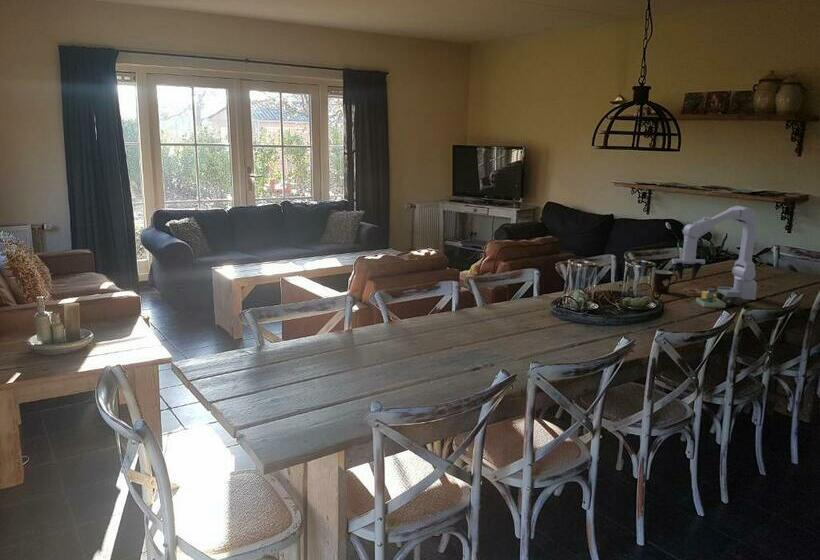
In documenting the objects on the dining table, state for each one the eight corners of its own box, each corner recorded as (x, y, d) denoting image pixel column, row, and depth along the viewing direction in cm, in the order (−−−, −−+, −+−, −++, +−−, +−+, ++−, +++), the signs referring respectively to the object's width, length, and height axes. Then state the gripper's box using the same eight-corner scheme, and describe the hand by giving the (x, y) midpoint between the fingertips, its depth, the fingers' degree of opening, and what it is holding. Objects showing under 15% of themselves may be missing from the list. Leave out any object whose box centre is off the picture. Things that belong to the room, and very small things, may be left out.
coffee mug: (652, 293, 321) (654, 273, 319) (651, 289, 329) (653, 269, 327) (677, 295, 318) (679, 274, 316) (676, 291, 326) (678, 271, 324)
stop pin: (711, 302, 302) (713, 287, 300) (714, 304, 299) (715, 289, 297) (704, 302, 302) (706, 287, 301) (707, 304, 299) (709, 289, 298)
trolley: (731, 299, 310) (733, 286, 309) (743, 306, 299) (745, 292, 297) (712, 299, 311) (714, 286, 309) (723, 305, 299) (725, 292, 298)
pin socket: (697, 293, 322) (697, 289, 322) (702, 296, 315) (703, 292, 315) (682, 292, 322) (683, 288, 322) (687, 296, 316) (688, 292, 315)
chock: (711, 299, 311) (712, 291, 310) (716, 302, 306) (717, 293, 305) (701, 299, 311) (702, 291, 310) (705, 301, 306) (706, 293, 305)
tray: (716, 302, 305) (717, 298, 304) (725, 307, 295) (725, 303, 295) (695, 301, 305) (696, 297, 305) (703, 307, 296) (704, 302, 295)
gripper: (702, 249, 308) (699, 277, 311) (670, 248, 309) (668, 276, 312) (708, 251, 301) (705, 280, 304) (676, 251, 302) (673, 279, 305)
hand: (686, 278), depth 308 cm, fingers open, 5 cm apart
